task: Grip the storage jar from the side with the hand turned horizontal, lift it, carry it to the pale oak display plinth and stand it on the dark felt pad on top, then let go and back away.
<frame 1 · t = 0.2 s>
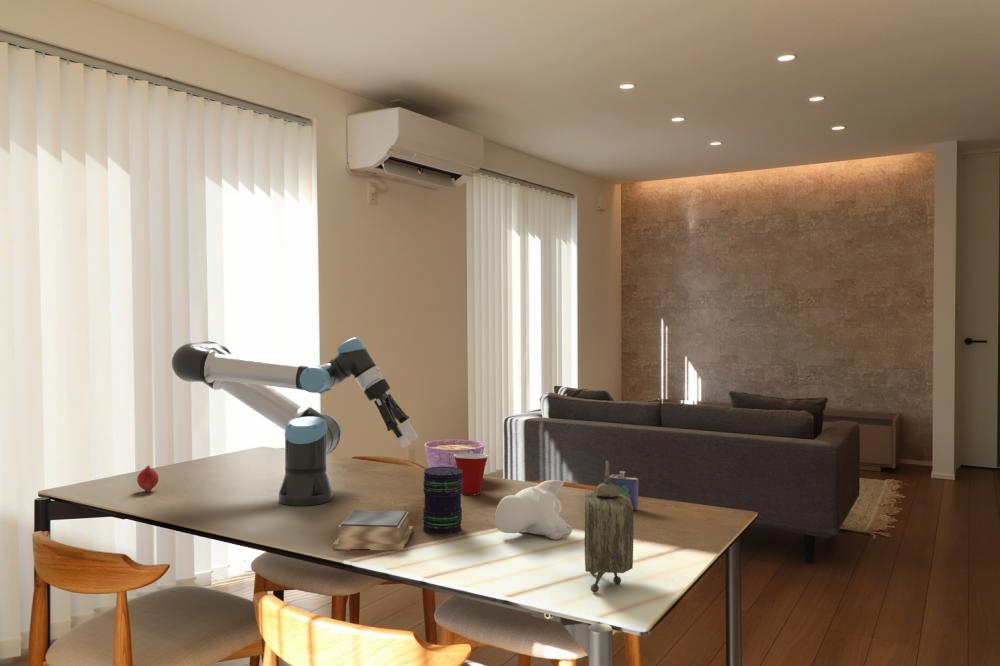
hand: (411, 442, 230), 15 cm above the table, tool tilted 35°, fingers open, 13 cm apart
flask: (621, 509, 213), on the table
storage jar: (442, 530, 190), on the table
bowl of food: (454, 479, 249), on the table
plastic cup: (470, 493, 230), on the table
fox head: (541, 535, 187), on the table
plinth: (374, 539, 181), on the table
onion: (147, 492, 227), on the table
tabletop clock: (607, 584, 152), on the table
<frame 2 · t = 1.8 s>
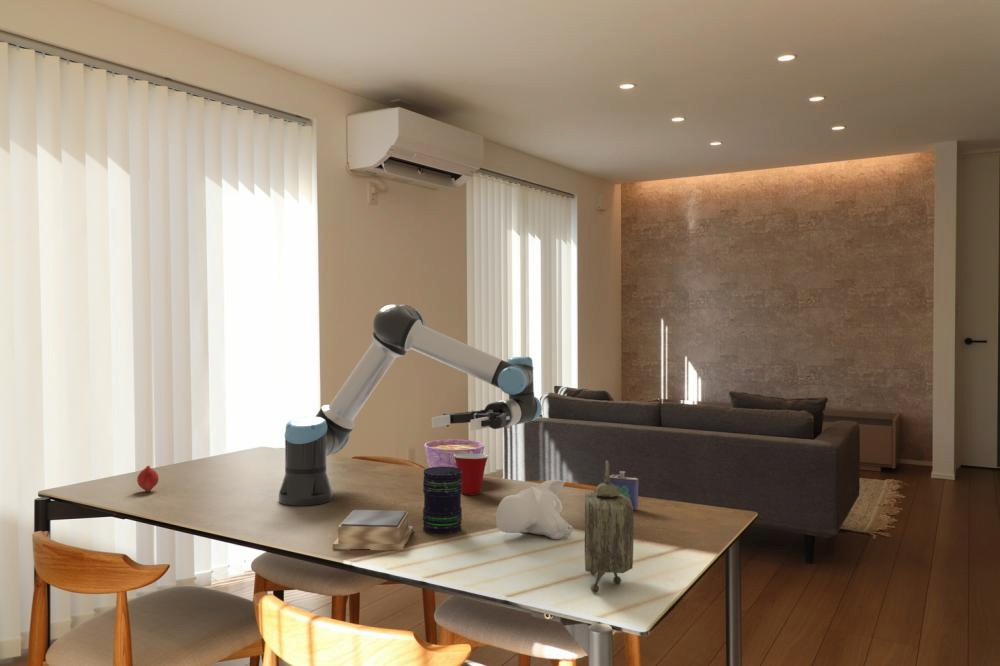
hand: (451, 423, 197), 26 cm above the table, tool horizontal, fingers open, 13 cm apart
nothing on the table moved.
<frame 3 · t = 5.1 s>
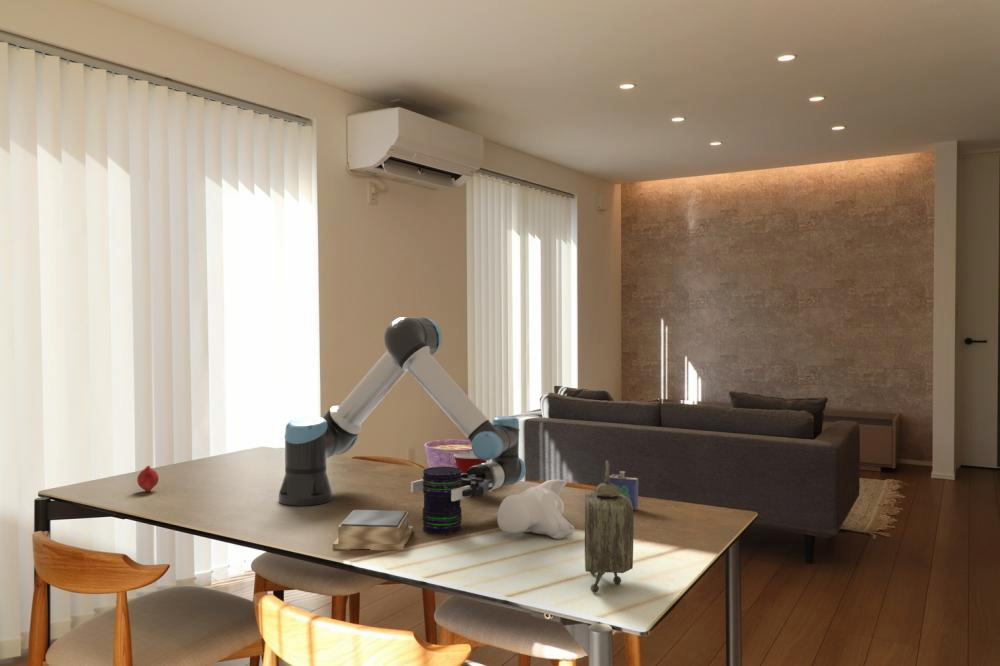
hand: (431, 491, 189), 10 cm above the table, tool horizontal, fingers open, 13 cm apart
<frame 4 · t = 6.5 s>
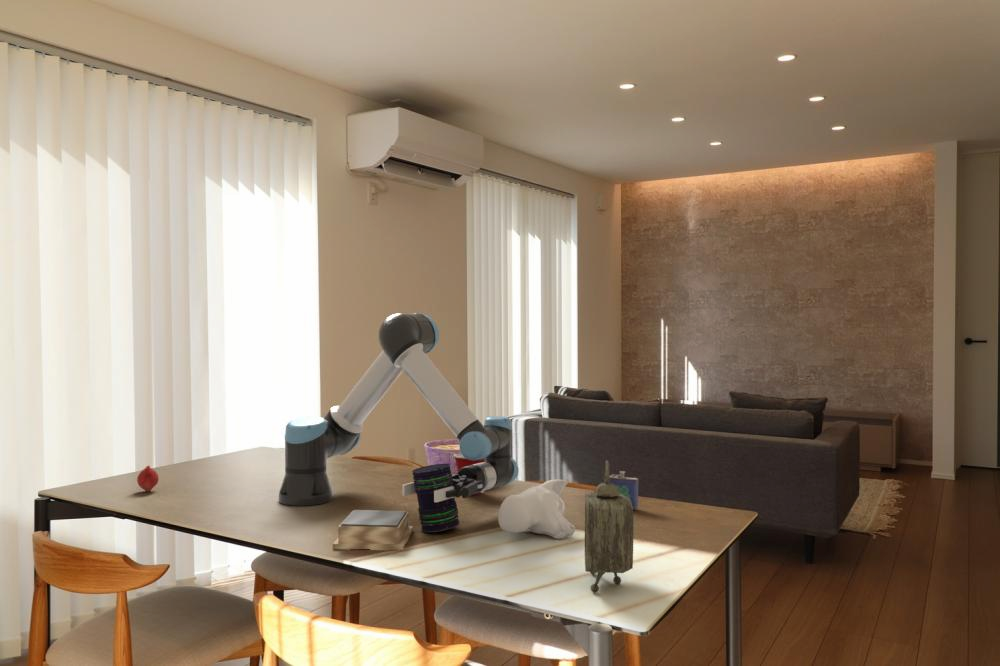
hand: (418, 493, 185), 10 cm above the table, tool horizontal, fingers closed on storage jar, 10 cm apart
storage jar: (440, 527, 189), point 1 cm above the table, touching gripper
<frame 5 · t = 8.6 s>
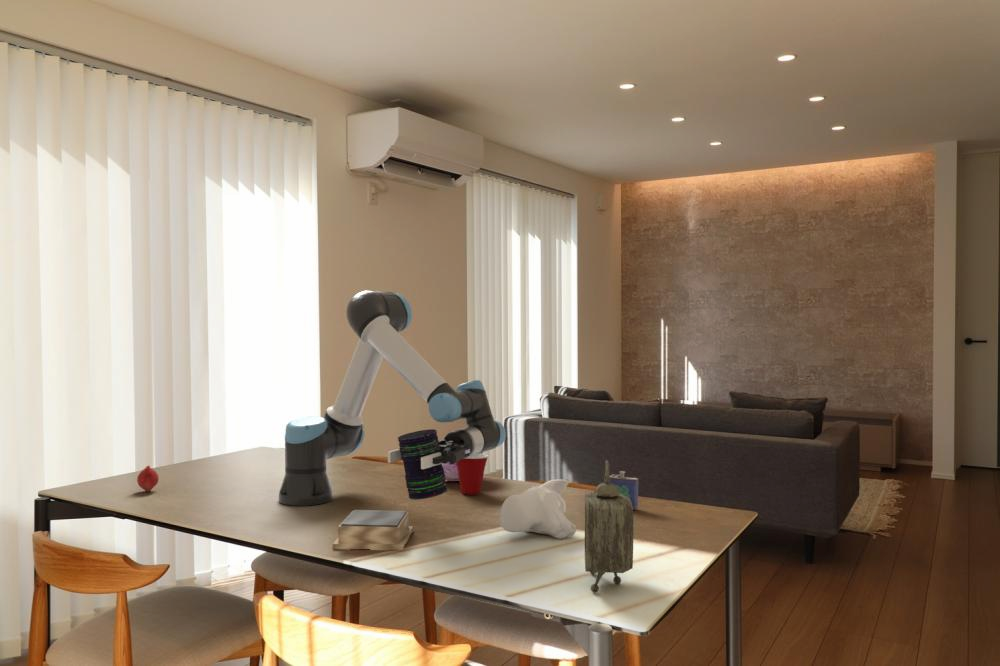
hand: (405, 460, 181), 19 cm above the table, tool horizontal, fingers closed on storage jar, 10 cm apart
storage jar: (428, 494, 186), point 10 cm above the table, touching gripper
when the fingers open (17 cm above the table, at t = 10.7 s): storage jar drops 2 cm, resting on plinth.
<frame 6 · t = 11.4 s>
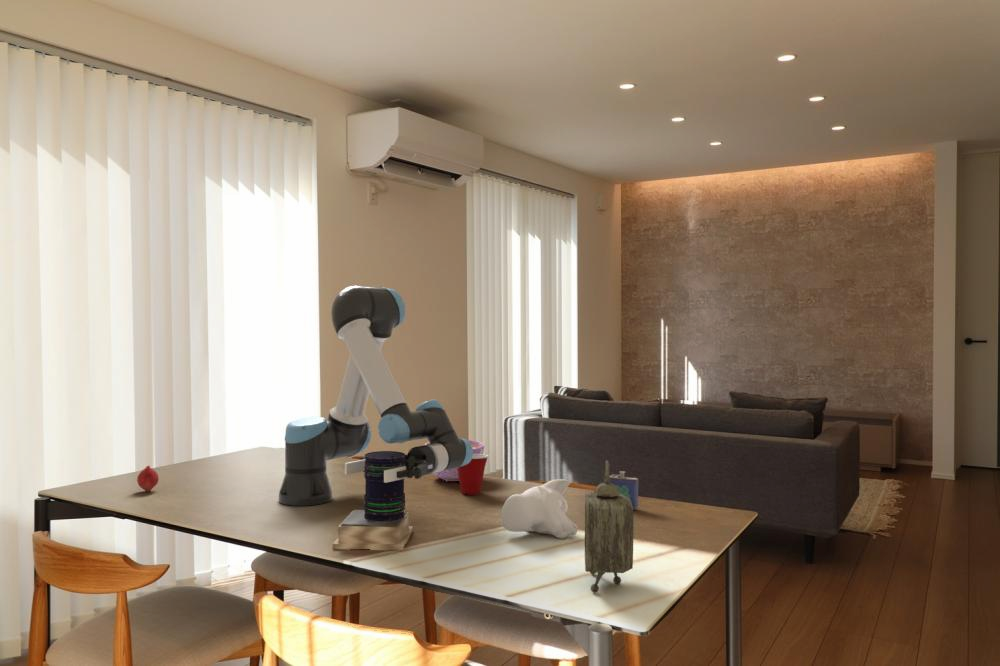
hand: (364, 472, 178), 17 cm above the table, tool horizontal, fingers open, 13 cm apart
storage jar: (384, 517, 181), point 5 cm above the table, touching plinth
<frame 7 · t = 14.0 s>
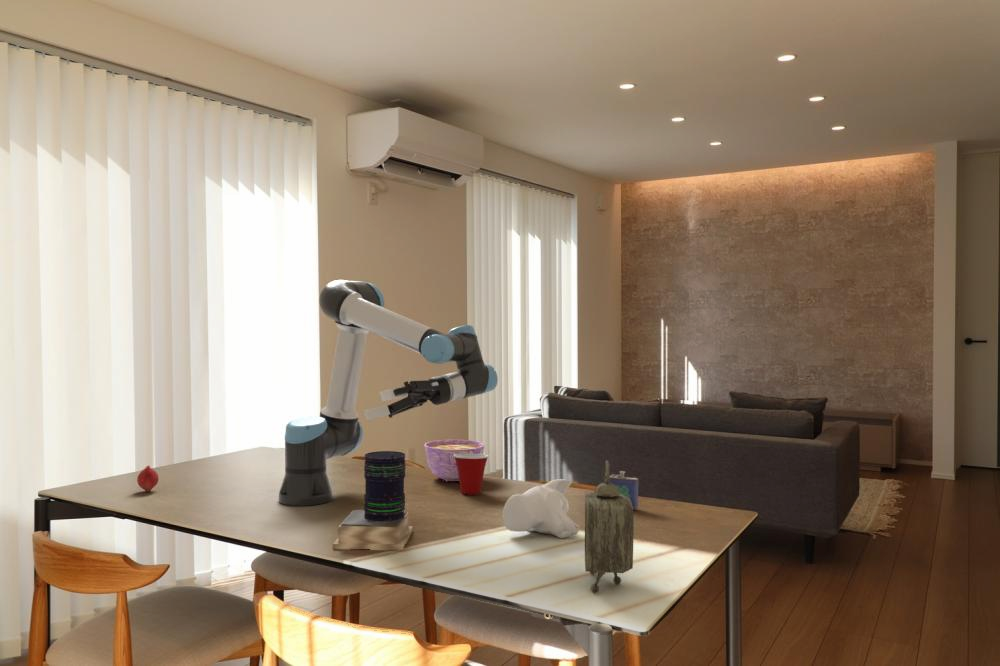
hand: (373, 406, 193), 31 cm above the table, tool horizontal, fingers open, 13 cm apart
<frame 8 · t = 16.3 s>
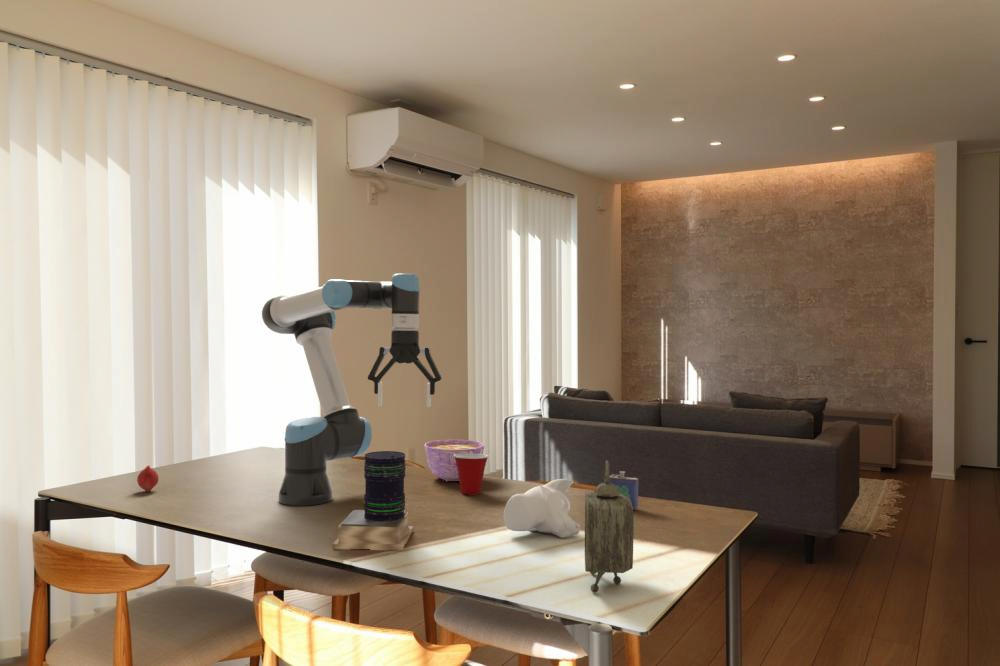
hand: (404, 406, 209), 29 cm above the table, tool pointing down, fingers open, 13 cm apart
at the end: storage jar inside the target area on the plinth (2.4 cm from its centre), point 5.2 cm above the plinth's base; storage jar tilted 0°; the gripper is holding nothing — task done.
